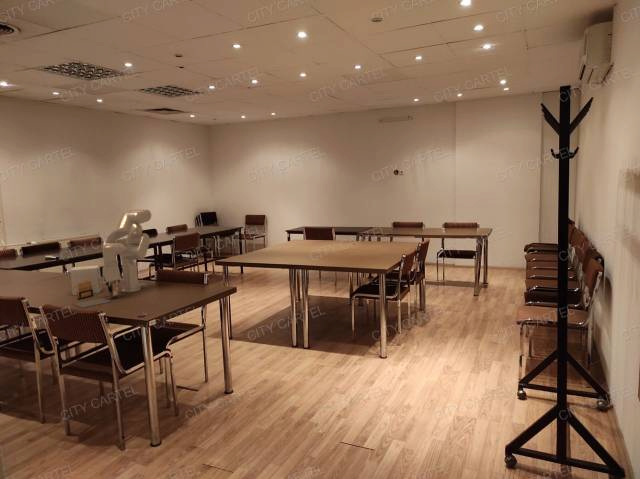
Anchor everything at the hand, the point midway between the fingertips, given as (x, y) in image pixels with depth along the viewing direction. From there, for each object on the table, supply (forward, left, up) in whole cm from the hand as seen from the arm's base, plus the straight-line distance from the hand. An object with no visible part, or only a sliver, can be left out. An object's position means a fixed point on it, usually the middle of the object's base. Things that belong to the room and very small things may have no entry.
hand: (113, 290), depth 305 cm
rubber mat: (+15, +3, -5) cm, 16 cm away
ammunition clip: (+11, -17, -5) cm, 21 cm away
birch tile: (0, 0, -3) cm, 3 cm away
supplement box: (+3, -33, -5) cm, 34 cm away
